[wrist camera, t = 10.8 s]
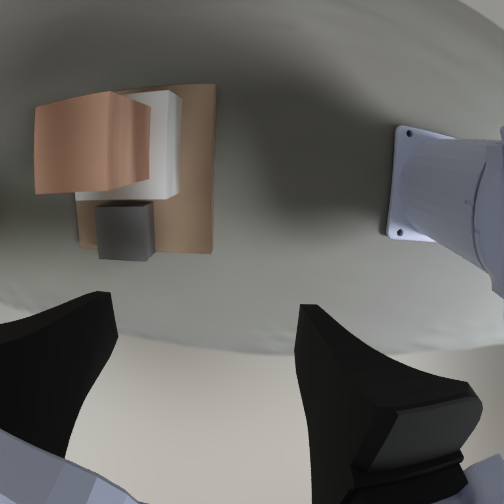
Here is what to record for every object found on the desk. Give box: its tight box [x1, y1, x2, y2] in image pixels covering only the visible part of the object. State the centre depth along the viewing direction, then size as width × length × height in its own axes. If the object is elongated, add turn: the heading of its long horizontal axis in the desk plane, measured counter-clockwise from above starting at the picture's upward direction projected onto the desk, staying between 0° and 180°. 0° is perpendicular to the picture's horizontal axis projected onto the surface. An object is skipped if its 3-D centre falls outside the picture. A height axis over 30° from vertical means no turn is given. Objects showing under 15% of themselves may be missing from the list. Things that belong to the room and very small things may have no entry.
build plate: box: [75, 83, 217, 262], centre depth 17 cm, size 10×11×4 cm
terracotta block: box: [34, 91, 151, 195], centre depth 13 cm, size 4×4×5 cm
